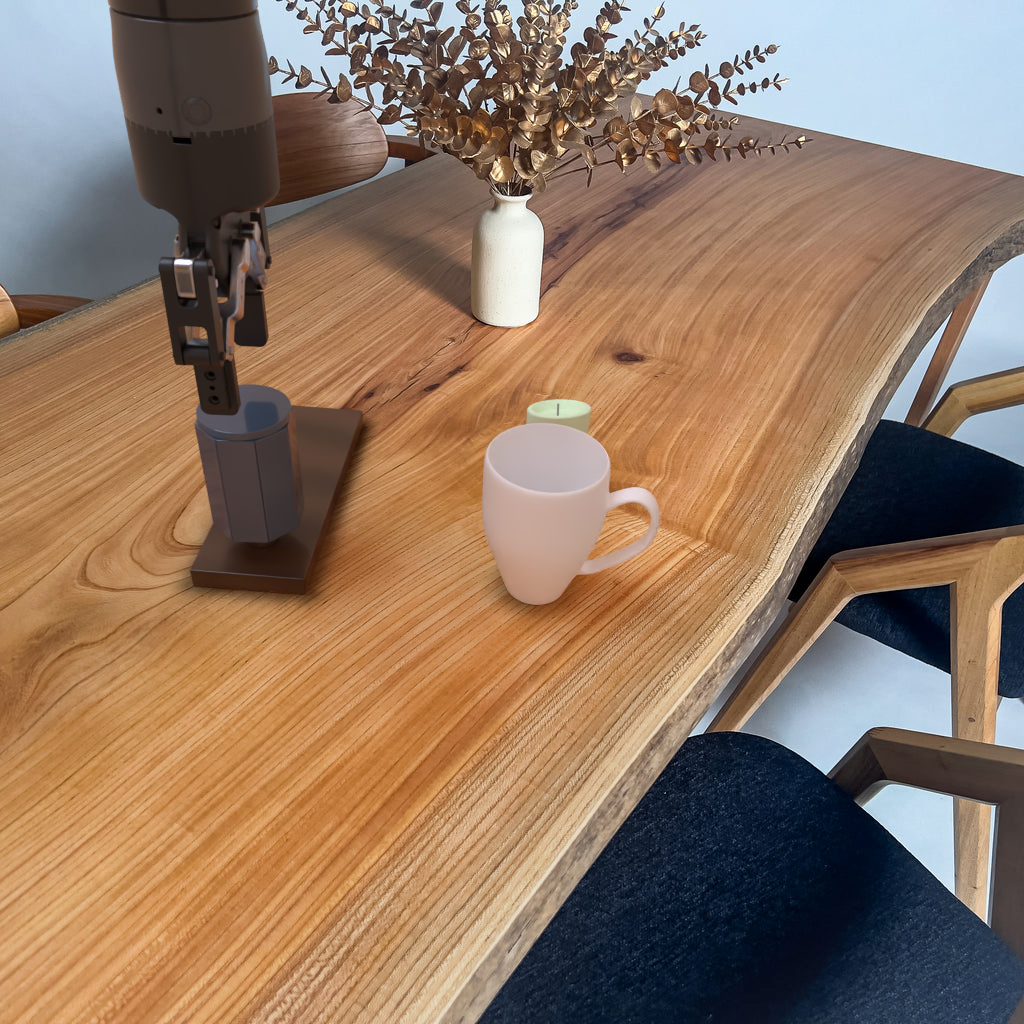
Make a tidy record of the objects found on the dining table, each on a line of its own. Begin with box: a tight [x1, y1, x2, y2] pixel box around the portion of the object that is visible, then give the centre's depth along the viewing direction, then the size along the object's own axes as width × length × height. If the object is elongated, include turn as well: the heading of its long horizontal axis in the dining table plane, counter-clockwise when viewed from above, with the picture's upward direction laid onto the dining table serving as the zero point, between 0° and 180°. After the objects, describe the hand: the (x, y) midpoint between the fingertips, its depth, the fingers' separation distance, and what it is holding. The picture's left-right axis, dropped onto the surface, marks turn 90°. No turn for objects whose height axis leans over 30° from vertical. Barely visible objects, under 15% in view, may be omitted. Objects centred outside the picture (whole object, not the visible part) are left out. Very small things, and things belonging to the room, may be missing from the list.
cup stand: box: [189, 404, 364, 595], centre depth 68 cm, size 22×8×12 cm, turn 177°
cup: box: [194, 383, 305, 543], centre depth 62 cm, size 6×6×9 cm
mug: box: [481, 423, 661, 606], centre depth 62 cm, size 12×8×11 cm
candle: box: [525, 398, 592, 435], centre depth 73 cm, size 5×5×8 cm
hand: (237, 376), depth 57 cm, fingers open, 8 cm apart
